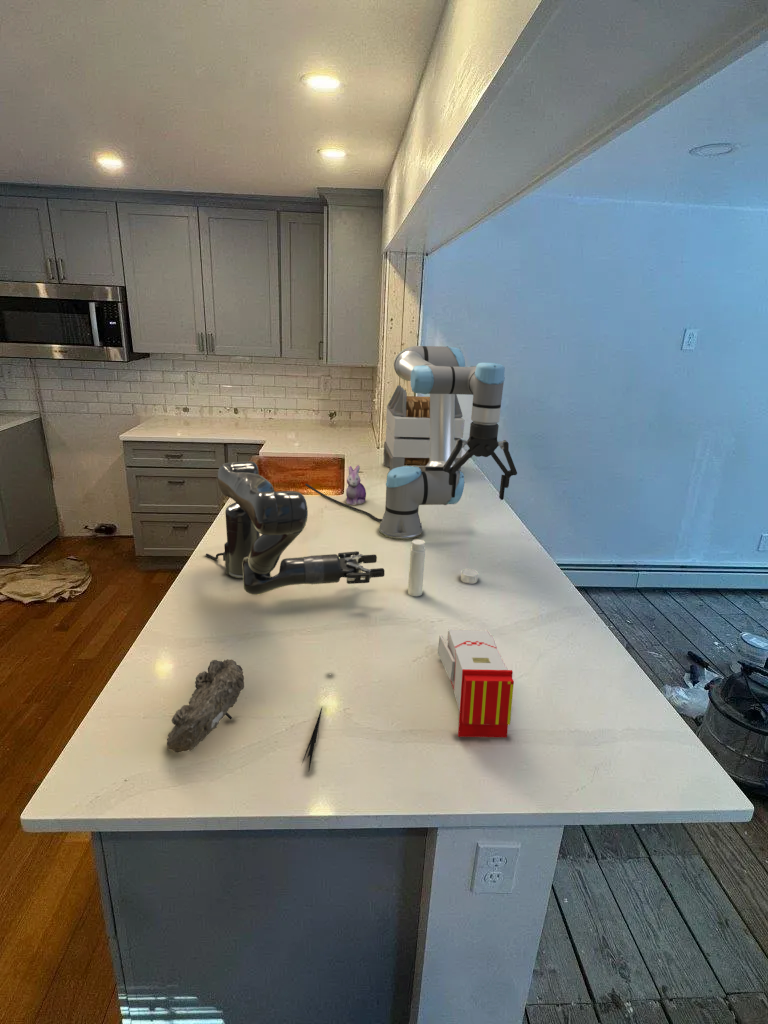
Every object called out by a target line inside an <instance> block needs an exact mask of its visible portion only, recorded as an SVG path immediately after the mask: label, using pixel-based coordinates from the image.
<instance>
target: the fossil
mask: <svg viewBox="0 0 768 1024" xmlns="http://www.w3.org/2000/svg"><path fill="white" fill-rule="evenodd" d="M243 670H244V669H243V667H242V665H240V664H237V662H236V661H235V660H234V659H232V658H231V659H227V658H226V659H224V660H223V661H222V660H217V659H212V660H211V661H210V663H209V665H208V666H207V671H201V672H199V673H198V674H197V675H196V676H195V680H194V684H195V685H194V687H195V689H194V690H193V693H192V694H191V697H190V698H189V700H188V704H184V705H182V706H181V707H180V709H177V710H176V711H175V713H174V715H173V716H172V718H171V723H172V724H173V727H172V730H171V731H170V732H168V734H167V738H166V741H167V742H166V745H167V749H168V750H169V751H173V752H174V753H176V754H178V753H182V752H188V751H189V752H192V751H193V750H195V748H196V747H197V746H199V744H200V743H201V742H203V741H204V740H205V739H206V738H207V737H208V736H209V735H210V734H211V733H212V732H214V730H215V729H217V727H218V726H219V724H220V722H221V721H222V720H223V719H224V718H225V716H226V717H227V719H229V720H233V717H232V715H230V714H229V710H230V709H231V708H234V706H235V704H236V703H237V702H238V699H239V697H240V695H241V693H242V691H243V690H245V689H244V688H245V675H244V671H243Z"/></svg>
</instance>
